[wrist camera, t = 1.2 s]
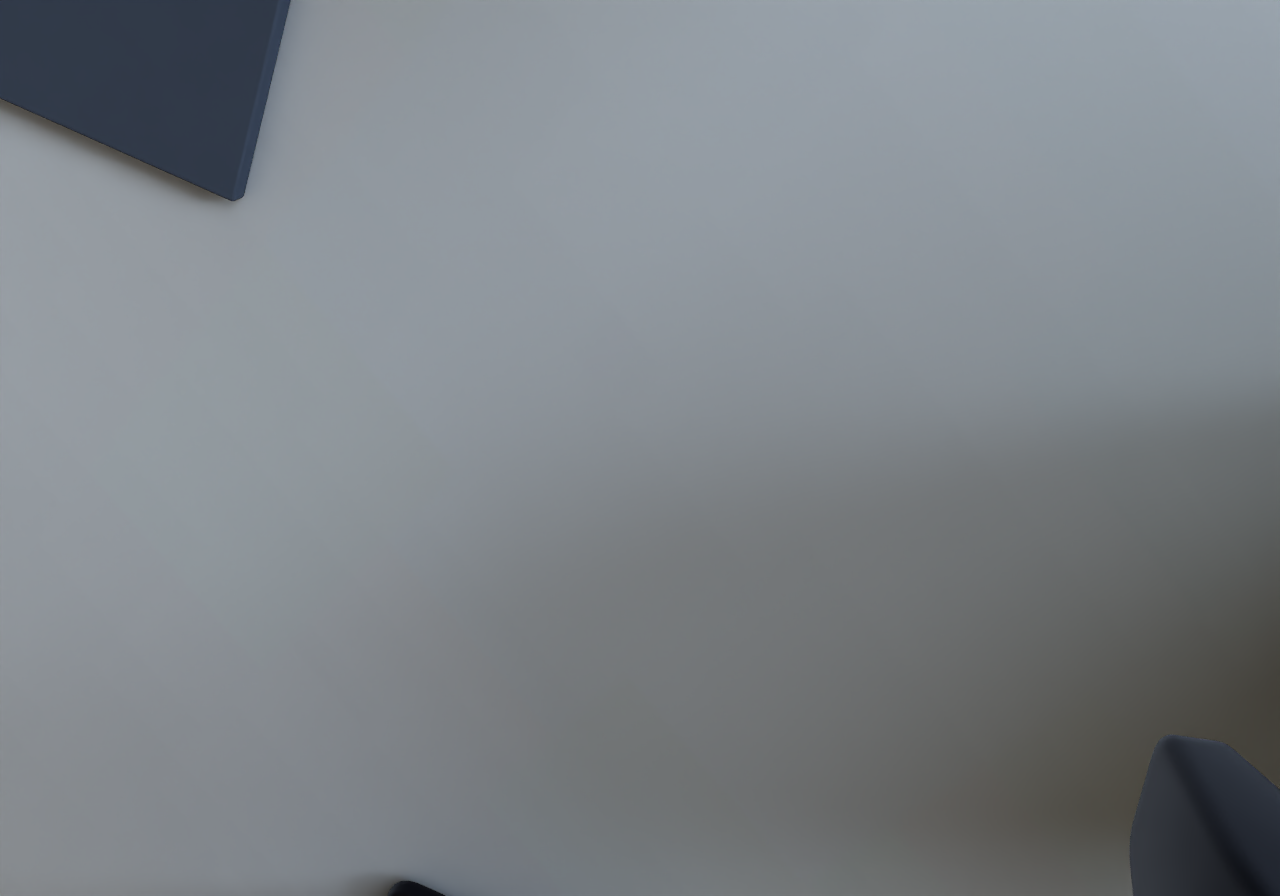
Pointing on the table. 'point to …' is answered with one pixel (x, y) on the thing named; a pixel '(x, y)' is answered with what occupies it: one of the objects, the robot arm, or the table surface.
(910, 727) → the table surface
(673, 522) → the table surface
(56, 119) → the rubber mat
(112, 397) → the table surface
